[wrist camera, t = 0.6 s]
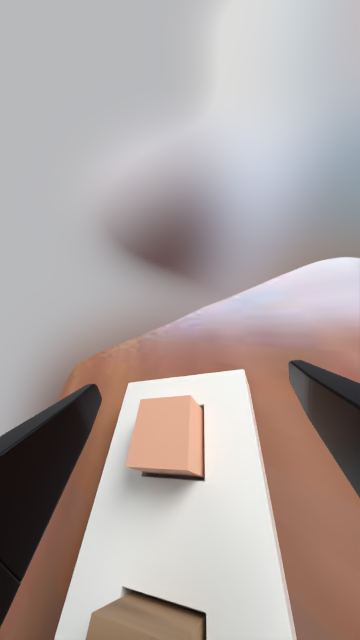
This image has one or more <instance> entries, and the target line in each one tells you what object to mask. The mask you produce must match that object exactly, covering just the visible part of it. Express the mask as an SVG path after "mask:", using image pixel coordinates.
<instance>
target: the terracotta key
mask: <svg viewBox="0 0 360 640" xmlns="http://www.w3.org/2000/svg"><path fill="white" fill-rule="evenodd" d="M125 467H128V468H132V469H135V470H139V471H143V472H146V473H150V474H162V475H176V476H191V477H205V444H204V411H203V409H202V408H201V407H200V406H199V405H198V403H197V402H196V401H195V400H194V399H193V397H192V396H191V395H185V396H173V397H161V398H149V399H141V400H140V404H139V408H138V413H137V417H136V421H135V426H134V430H133V435H132V439H131V443H130V448H129V452H128V456H127V461H126V465H125Z"/></svg>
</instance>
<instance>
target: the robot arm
mask: <svg viewBox="0 0 360 640" xmlns="http://www.w3.org/2000/svg"><path fill="white" fill-rule="evenodd" d="M289 380H290V383H291V385H292V387H293V389H294V391H295V393H296V395H297V397H298V399H299V401H300V403H301V405H302V407H303V409H304V411H305V413H306V415H307V416H308V418H309V420H310V421H311V423H312V425H313V426H314V428H315V429H316V431H317V432H318V434H319V436H320V437H321V439H322V440H323V442H324V443H325V445H326V446H327V448H328V449H329V451H330V453H331V454H332V456H333V457H334V459H335V460H336V462H337V463H338V465H339V467H340V468H341V470H342V471H343V473H344V474H345V476H346V477H347V479H348V480H349V482H350V484H351V485H352V487H353V488H354V490H355V491H356V493H357V494H358V496H359V498H360V383H358V382H355V381H353V380H350V379H347V378H345V377H342V376H340V375H337V374H335V373H332V372H330V371H327V370H325V369H322V368H320V367H317V366H315V365H312V364H310V363H307V362H305V361H302V360H293V361H290V362H289ZM101 402H102V397H101V394H100V392H99V389H98V387H97V385H96V384H88V385H86V386H84V387H82V388H80V389H79V390H77V391H75V392H74V393H72V394H70V395H69V396H67V397H65V398H64V399H62V400H60V401H59V402H57V403H56V404H54V405H52V406H50V407H49V408H47V409H45V410H44V411H42V412H40V413H39V414H37V415H35V416H34V417H32V418H30V419H29V420H27V421H25V422H24V423H22V424H20V425H19V426H17V427H15V428H14V429H12V430H10V431H9V432H7V433H5V434H4V435H2V436H1V437H0V627H1V625H2V623H3V621H4V619H5V617H6V614H7V612H8V610H9V608H10V606H11V604H12V601H13V599H14V597H15V595H16V593H17V591H18V588H19V586H20V584H21V581H22V579H23V577H24V575H25V573H26V571H27V569H28V566H29V564H30V562H31V560H32V558H33V556H34V553H35V551H36V549H37V547H38V545H39V543H40V541H41V538H42V536H43V534H44V532H45V530H46V528H47V525H48V523H49V521H50V519H51V517H52V515H53V512H54V510H55V508H56V506H57V504H58V502H59V499H60V497H61V495H62V493H63V491H64V489H65V487H66V484H67V482H68V480H69V478H70V476H71V474H72V471H73V469H74V467H75V465H76V463H77V461H78V458H79V456H80V454H81V452H82V450H83V448H84V445H85V443H86V441H87V439H88V437H89V434H90V432H91V429H92V427H93V424H94V421H95V419H96V416H97V413H98V410H99V407H100V405H101Z"/></svg>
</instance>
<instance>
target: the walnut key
mask: <svg viewBox="0 0 360 640" xmlns="http://www.w3.org/2000/svg"><path fill="white" fill-rule="evenodd" d="M86 640H206V614H203V613H200V612H197V611H194V610H190V609H187V608H184V607H181V606H178V605H175V604H171V603H168V602H165V601H162V600H159V599H156V598H153V597H149V596H146V595H143V594H140V593H137V592H134V591H133V592H131V593H129V594H127V595H125V596H123V597H121V598H119V599H117V600H115V601H113V602H111V603H109V604H107V605H105V606H104V607H102V608H100V609H98V610H96V611H94V612H92V614H91V618H90V622H89V627H88V631H87V636H86Z"/></svg>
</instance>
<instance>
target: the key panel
mask: <svg viewBox="0 0 360 640" xmlns="http://www.w3.org/2000/svg"><path fill="white" fill-rule="evenodd" d="M185 395H191V396H192V397H193V399H194V400H195V401H196V402H197V403H198V405H199V406H200V407H201V408H202V409H203V411H204V444H205V477H191V476H176V475H162V474H150V473H146V472H143V471H139V470H135V469H132V468H128V467H125V465H126V461H127V456H128V452H129V448H130V443H131V439H132V435H133V430H134V426H135V421H136V417H137V413H138V408H139V404H140V400H141V399H149V398H161V397H173V396H185ZM133 591H134V592H137V593H140V594H143V595H146V596H149V597H153V598H156V599H159V600H162V601H165V602H168V603H171V604H175V605H178V606H181V607H184V608H187V609H190V610H194V611H197V612H200V613H203V614H206V640H297V638H296V632H295V627H294V622H293V616H292V611H291V606H290V601H289V595H288V590H287V585H286V579H285V574H284V569H283V563H282V558H281V553H280V548H279V542H278V537H277V532H276V526H275V521H274V516H273V511H272V505H271V500H270V495H269V489H268V484H267V479H266V473H265V468H264V463H263V458H262V452H261V447H260V442H259V436H258V431H257V426H256V420H255V415H254V410H253V405H252V399H251V394H250V389H249V385H248V381H247V378H246V375H245V372H244V369H241V370H233V371H225V372H216V373H208V374H200V375H191V376H183V377H175V378H166V379H158V380H149V381H141V382H133V383H129V384H128V387H127V391H126V394H125V398H124V401H123V405H122V408H121V411H120V415H119V418H118V422H117V425H116V429H115V432H114V435H113V439H112V442H111V446H110V449H109V453H108V456H107V459H106V463H105V466H104V470H103V473H102V477H101V480H100V484H99V487H98V490H97V494H96V497H95V501H94V504H93V508H92V511H91V514H90V518H89V521H88V525H87V528H86V532H85V535H84V539H83V542H82V545H81V549H80V552H79V556H78V559H77V563H76V566H75V569H74V573H73V576H72V580H71V583H70V587H69V590H68V593H67V597H66V600H65V604H64V607H63V611H62V614H61V618H60V621H59V624H58V628H57V631H56V635H55V638H54V640H86V636H87V631H88V627H89V622H90V618H91V614H92V612H94V611H96V610H98V609H100V608H102V607H104V606H105V605H107V604H109V603H111V602H113V601H115V600H117V599H119V598H121V597H123V596H125V595H127V594H129V593H131V592H133Z"/></svg>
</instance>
